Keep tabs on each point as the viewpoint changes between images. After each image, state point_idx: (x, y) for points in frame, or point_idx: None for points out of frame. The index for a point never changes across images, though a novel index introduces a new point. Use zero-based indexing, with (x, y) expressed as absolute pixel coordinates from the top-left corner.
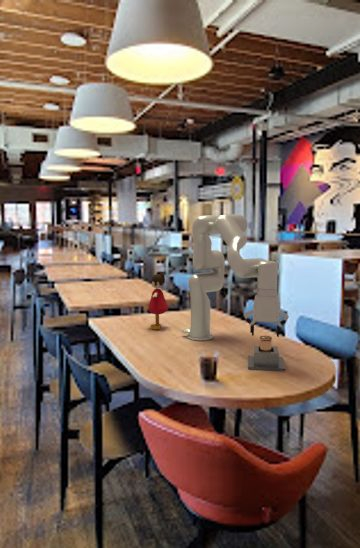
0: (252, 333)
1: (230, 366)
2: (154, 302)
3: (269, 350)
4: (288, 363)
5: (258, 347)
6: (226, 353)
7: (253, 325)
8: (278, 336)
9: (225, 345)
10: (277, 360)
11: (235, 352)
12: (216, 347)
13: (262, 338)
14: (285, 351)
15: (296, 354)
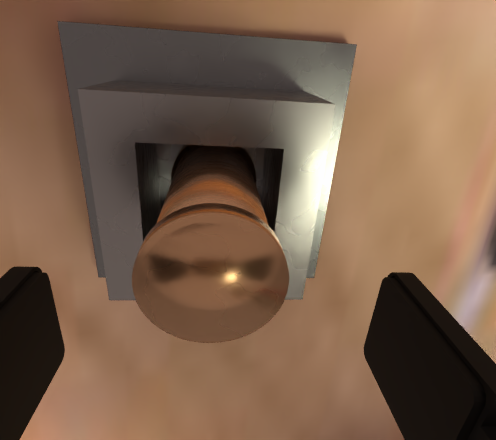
0: (419, 287)
1: (453, 102)
2: None
3: (179, 179)
4: (59, 201)
5: None
6: None
7: (486, 421)
8: (18, 267)
9: (389, 413)
10: (114, 84)
11: (362, 337)
12: None
13: (263, 230)
14: (94, 383)
15: None
